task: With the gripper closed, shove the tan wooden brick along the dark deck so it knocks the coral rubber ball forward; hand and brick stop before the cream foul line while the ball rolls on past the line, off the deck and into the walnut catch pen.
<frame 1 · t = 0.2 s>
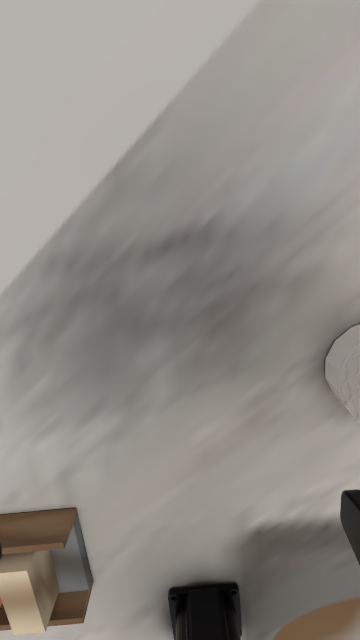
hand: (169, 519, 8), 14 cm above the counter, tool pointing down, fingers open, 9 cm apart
tan wooden brick: (37, 562, 25), point 1 cm above the counter, touching lane
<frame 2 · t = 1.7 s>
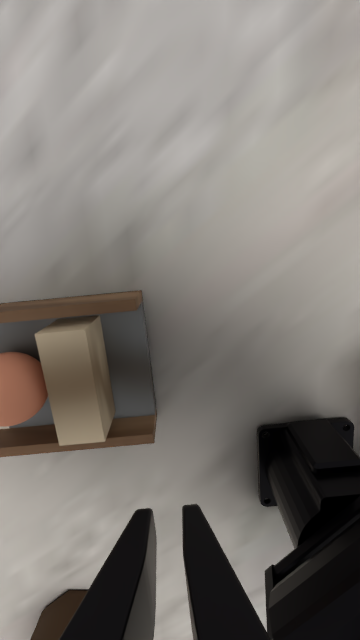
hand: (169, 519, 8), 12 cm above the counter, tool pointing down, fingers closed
beer bottle: (87, 616, 25), on the counter
lane: (27, 367, 19), on the counter
ball: (10, 388, 16), point 3 cm above the counter, touching lane
tan wooden brick: (87, 367, 18), point 1 cm above the counter, touching lane
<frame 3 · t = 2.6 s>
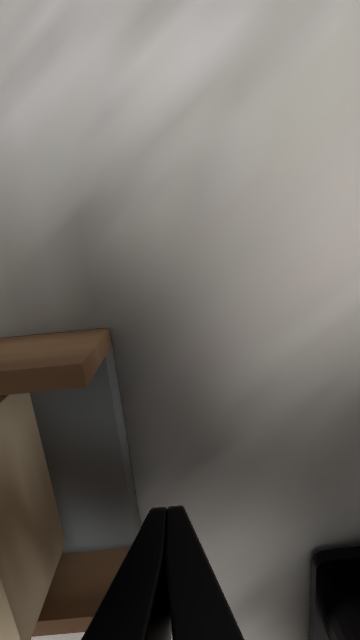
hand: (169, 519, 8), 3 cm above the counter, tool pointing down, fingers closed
tan wooden brick: (10, 470, 10), point 1 cm above the counter, touching lane
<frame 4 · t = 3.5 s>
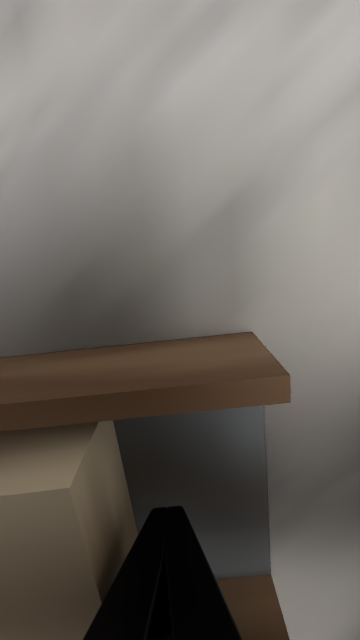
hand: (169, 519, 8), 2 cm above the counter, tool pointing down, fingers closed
lane: (17, 480, 10), on the counter
tan wooden brick: (88, 501, 9), point 1 cm above the counter, touching gripper
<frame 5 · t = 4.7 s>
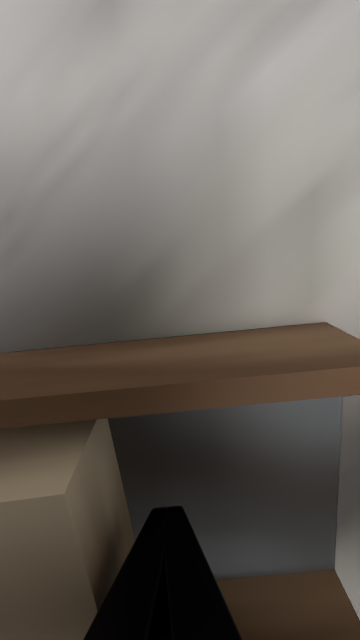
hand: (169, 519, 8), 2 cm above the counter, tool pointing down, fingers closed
lane: (76, 473, 10), on the counter
tan wooden brick: (84, 505, 9), point 1 cm above the counter, touching gripper, lane
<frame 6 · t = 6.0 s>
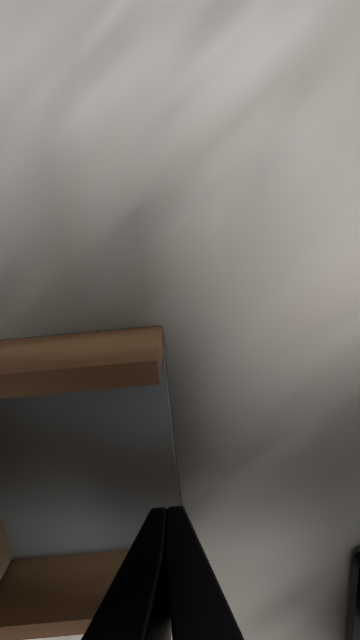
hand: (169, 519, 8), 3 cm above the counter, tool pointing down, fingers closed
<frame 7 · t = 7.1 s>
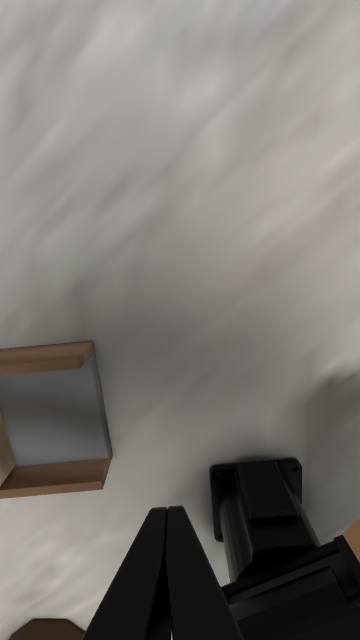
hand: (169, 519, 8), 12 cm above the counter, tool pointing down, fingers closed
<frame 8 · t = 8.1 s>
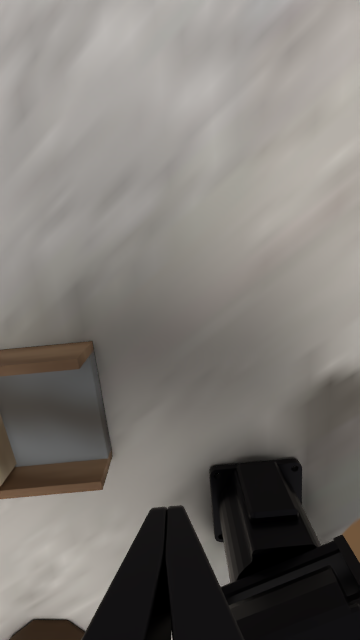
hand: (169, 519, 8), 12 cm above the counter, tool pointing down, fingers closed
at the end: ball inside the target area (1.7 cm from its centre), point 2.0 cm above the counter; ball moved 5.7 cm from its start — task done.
